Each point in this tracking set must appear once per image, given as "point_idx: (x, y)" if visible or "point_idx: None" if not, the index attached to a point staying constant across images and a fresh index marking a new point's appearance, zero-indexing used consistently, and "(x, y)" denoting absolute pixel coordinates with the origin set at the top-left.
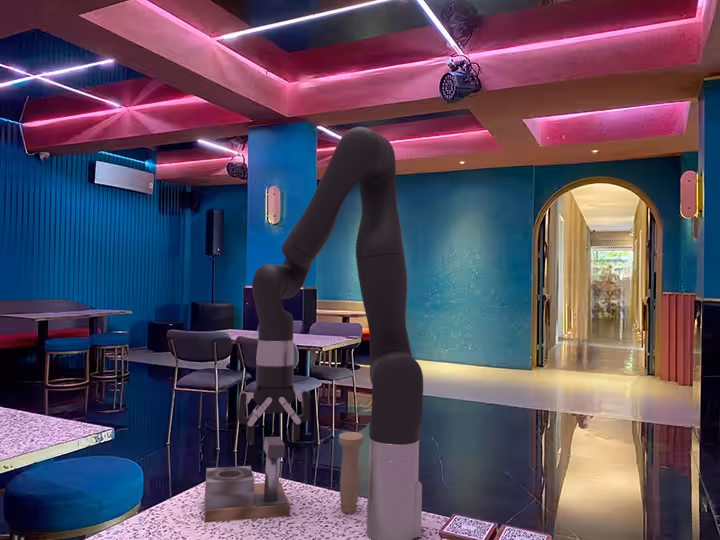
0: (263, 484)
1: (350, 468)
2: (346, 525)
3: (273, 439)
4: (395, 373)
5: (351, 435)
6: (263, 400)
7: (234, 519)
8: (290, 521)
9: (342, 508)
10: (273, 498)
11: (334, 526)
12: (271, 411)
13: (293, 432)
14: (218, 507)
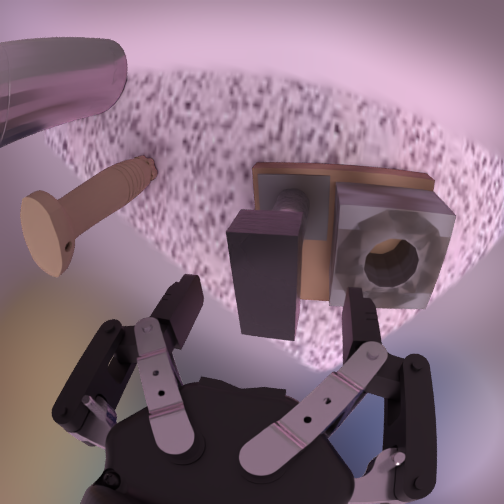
0: None
1: (88, 182)
2: (154, 105)
3: (266, 311)
4: None
5: (40, 243)
6: (297, 461)
7: (373, 167)
8: (257, 133)
9: (152, 167)
10: (287, 191)
11: (174, 101)
12: (257, 396)
13: (182, 299)
14: (409, 188)
